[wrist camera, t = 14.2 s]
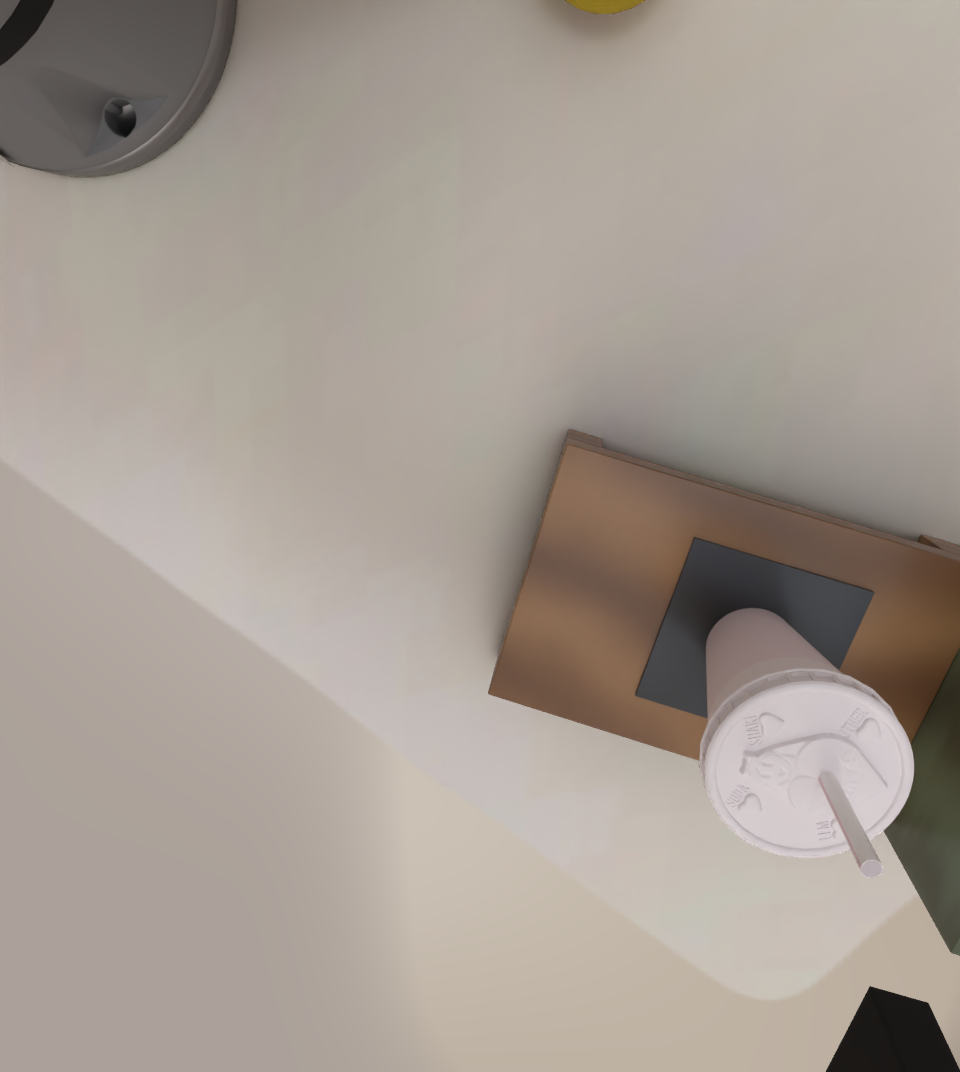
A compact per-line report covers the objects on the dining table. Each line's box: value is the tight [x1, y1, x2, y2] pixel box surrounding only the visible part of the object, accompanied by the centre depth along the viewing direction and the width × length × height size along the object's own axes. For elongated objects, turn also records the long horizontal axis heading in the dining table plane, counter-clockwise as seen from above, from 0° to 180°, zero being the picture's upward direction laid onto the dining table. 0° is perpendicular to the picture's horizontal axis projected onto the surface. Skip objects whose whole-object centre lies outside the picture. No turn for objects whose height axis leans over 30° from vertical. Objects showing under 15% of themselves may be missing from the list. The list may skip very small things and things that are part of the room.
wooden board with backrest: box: [488, 429, 960, 956], centre depth 33 cm, size 12×19×12 cm, turn 75°
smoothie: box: [699, 608, 914, 878], centre depth 28 cm, size 6×6×14 cm
